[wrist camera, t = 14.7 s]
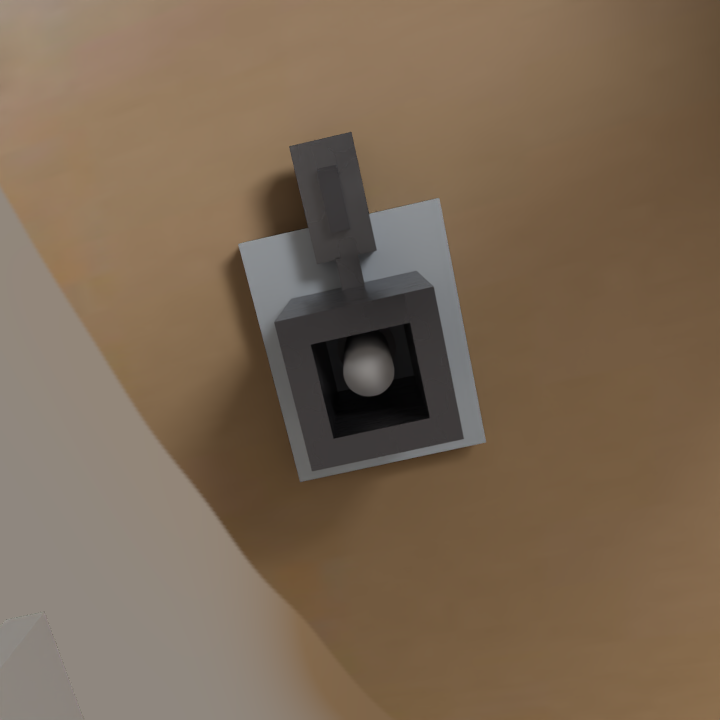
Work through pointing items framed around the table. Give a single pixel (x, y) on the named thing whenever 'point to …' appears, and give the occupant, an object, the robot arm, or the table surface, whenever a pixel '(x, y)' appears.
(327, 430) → the grey square socket
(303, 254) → the keeper
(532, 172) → the table surface
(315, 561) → the table surface
